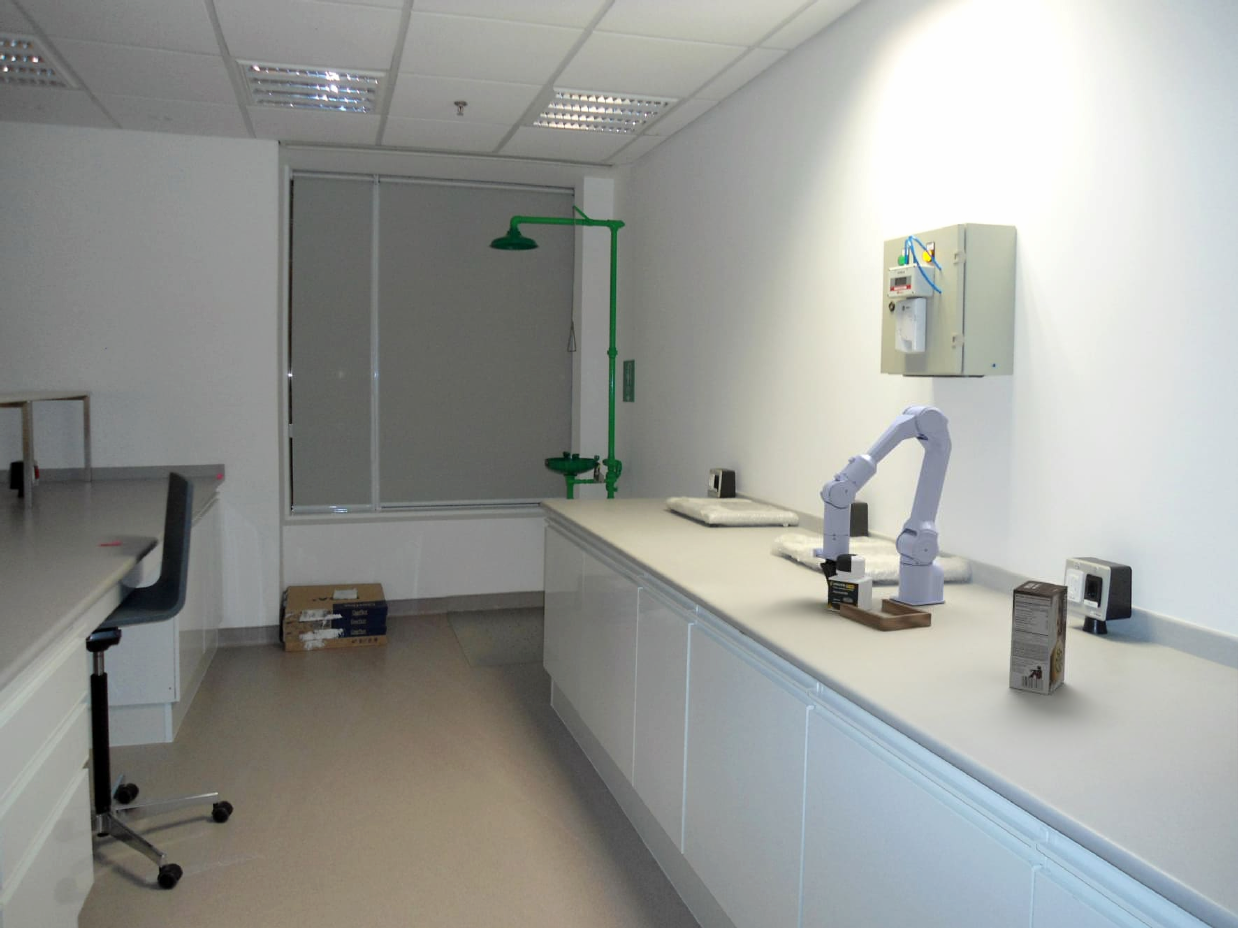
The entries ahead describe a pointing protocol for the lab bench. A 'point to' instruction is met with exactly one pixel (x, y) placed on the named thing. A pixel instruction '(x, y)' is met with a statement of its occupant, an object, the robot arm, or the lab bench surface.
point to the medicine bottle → (850, 584)
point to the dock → (904, 618)
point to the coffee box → (1038, 637)
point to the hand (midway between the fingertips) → (834, 594)
